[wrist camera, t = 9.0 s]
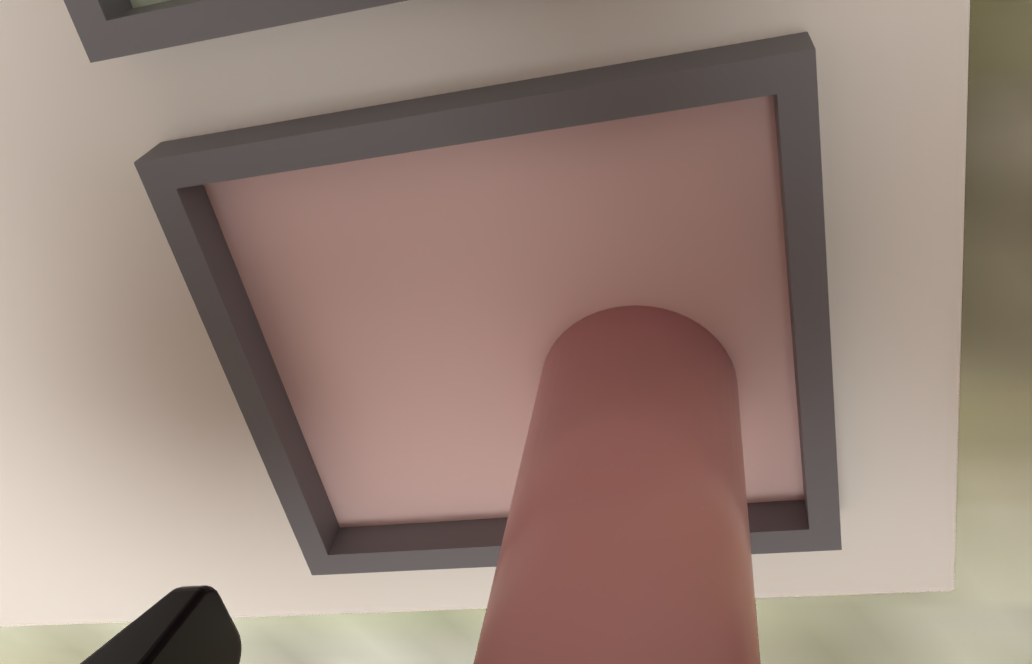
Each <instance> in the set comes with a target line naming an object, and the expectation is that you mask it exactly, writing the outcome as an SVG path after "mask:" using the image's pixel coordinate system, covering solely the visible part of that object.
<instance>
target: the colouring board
mask: <svg viewBox="0 0 1032 664" xmlns="http://www.w3.org/2000/svg"><path fill="white" fill-rule="evenodd" d="M969 21H970V0H0V627H7V626H33V625H60V624H87V623H113V622H133V621H134V620H136V619H137V618H138V617H139V616H141V615H142V614H143V613H144V612H146V611H147V610H148V609H149V608H151V607H152V606H153V605H154V604H156V603H157V602H158V601H159V600H161V599H162V598H163V597H164V596H166V595H167V594H168V593H169V592H171V591H172V590H173V589H176V588H178V587H182V586H201V585H207V586H211V587H213V588H214V589H215V590H217V592H218V593H219V595H220V597H221V599H222V601H223V603H224V605H225V607H226V609H227V611H228V613H229V615H230V617H231V618H247V617H273V616H300V615H327V614H353V613H380V612H407V611H433V610H460V609H487V605H488V600H489V596H490V592H491V587H492V583H493V579H494V575H495V570H496V566H497V562H498V558H499V553H500V549H501V545H502V540H503V536H504V532H505V528H506V523H507V519H508V515H509V511H510V506H511V502H512V498H513V493H514V489H515V485H516V481H517V476H518V472H519V468H520V464H521V459H522V455H523V451H524V446H525V442H526V438H527V434H528V429H529V425H530V421H531V416H532V412H533V408H534V404H535V399H536V395H537V391H538V387H539V382H540V378H541V374H542V369H543V366H544V363H545V360H546V357H547V355H548V353H549V351H550V349H551V347H552V346H553V345H554V343H555V342H556V340H557V339H558V338H559V337H560V336H561V335H562V334H563V333H564V332H565V331H566V330H567V329H568V328H569V327H571V326H572V325H573V324H575V323H576V322H578V321H579V320H581V319H583V318H585V317H587V316H589V315H591V314H594V313H596V312H599V311H602V310H606V309H609V308H614V307H620V306H634V305H638V306H651V307H657V308H663V309H666V310H670V311H673V312H676V313H679V314H681V315H683V316H686V317H688V318H690V319H691V320H693V321H695V322H697V323H698V324H700V325H701V326H703V327H704V328H705V329H707V330H708V331H709V332H710V333H711V334H712V335H713V336H714V337H715V338H716V339H717V340H718V341H719V342H720V343H721V345H722V346H723V347H724V349H725V350H726V352H727V353H728V355H729V357H730V359H731V361H732V364H733V366H734V369H735V373H736V378H737V384H738V397H739V409H740V421H741V433H742V445H743V458H744V470H745V482H746V494H747V506H748V518H749V531H750V543H751V555H752V567H753V579H754V591H755V598H780V597H807V596H834V595H860V594H887V593H914V592H940V591H954V570H955V533H956V497H957V460H958V424H959V387H960V350H961V314H962V277H963V240H964V204H965V167H966V131H967V94H968V57H969Z"/></svg>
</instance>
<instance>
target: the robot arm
mask: <svg viewBox="0 0 1032 664" xmlns="http://www.w3.org/2000/svg"><path fill="white" fill-rule="evenodd" d="M240 657H241V639H240V635H239V633H238V630H237V628H236V626H235V624H234V622H233V620H232V619H231V617H230V615H229V613H228V611H227V609H226V607H225V605H224V603H223V601H222V599H221V597H220V595H219V593H218V592H217V590H215V589H214V588H213V587H211V586H207V585H201V586H182V587H178V588H176V589H173V590H172V591H171V592H169V593H168V594H167V595H166V596H164V597H163V598H162V599H161V600H159V601H158V602H157V603H156V604H154V605H153V606H152V607H151V608H149V609H148V610H147V611H146V612H144V613H143V614H142V615H141V616H139V617H138V618H137V619H136V620H134V621H133V622H132V623H131V624H129V625H128V626H127V627H126V628H124V629H123V630H122V631H121V632H119V633H118V634H117V635H116V636H114V637H113V638H112V639H111V640H109V641H108V642H107V643H106V644H104V645H103V646H102V647H101V648H99V649H98V650H97V651H96V652H94V653H93V654H92V655H91V656H89V657H88V658H87V659H86V660H84V661H83V662H82V663H81V664H239V662H240Z"/></svg>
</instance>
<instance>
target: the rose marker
mask: <svg viewBox="0 0 1032 664" xmlns="http://www.w3.org/2000/svg"><path fill="white" fill-rule="evenodd" d="M474 664H760V652H759V640H758V628H757V616H756V604H755V591H754V579H753V567H752V555H751V543H750V531H749V518H748V506H747V494H746V482H745V470H744V458H743V445H742V433H741V421H740V409H739V397H738V384H737V378H736V373H735V369H734V366H733V364H732V361H731V359H730V357H729V355H728V353H727V352H726V350H725V349H724V347H723V346H722V345H721V343H720V342H719V341H718V340H717V339H716V338H715V337H714V336H713V335H712V334H711V333H710V332H709V331H708V330H707V329H705V328H704V327H703V326H701V325H700V324H698V323H697V322H695V321H693V320H691V319H690V318H688V317H686V316H683V315H681V314H679V313H676V312H673V311H670V310H666V309H663V308H657V307H651V306H638V305H634V306H620V307H614V308H609V309H606V310H602V311H599V312H596V313H594V314H591V315H589V316H587V317H585V318H583V319H581V320H579V321H578V322H576V323H575V324H573V325H572V326H571V327H569V328H568V329H567V330H566V331H565V332H564V333H563V334H562V335H561V336H560V337H559V338H558V339H557V340H556V342H555V343H554V345H553V346H552V347H551V349H550V351H549V353H548V355H547V357H546V360H545V363H544V366H543V369H542V374H541V378H540V382H539V387H538V391H537V395H536V399H535V404H534V408H533V412H532V416H531V421H530V425H529V429H528V434H527V438H526V442H525V446H524V451H523V455H522V459H521V464H520V468H519V472H518V476H517V481H516V485H515V489H514V493H513V498H512V502H511V506H510V511H509V515H508V519H507V523H506V528H505V532H504V536H503V540H502V545H501V549H500V553H499V558H498V562H497V566H496V570H495V575H494V579H493V583H492V587H491V592H490V596H489V600H488V605H487V609H486V613H485V617H484V622H483V626H482V630H481V635H480V639H479V643H478V647H477V652H476V656H475V660H474Z"/></svg>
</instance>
